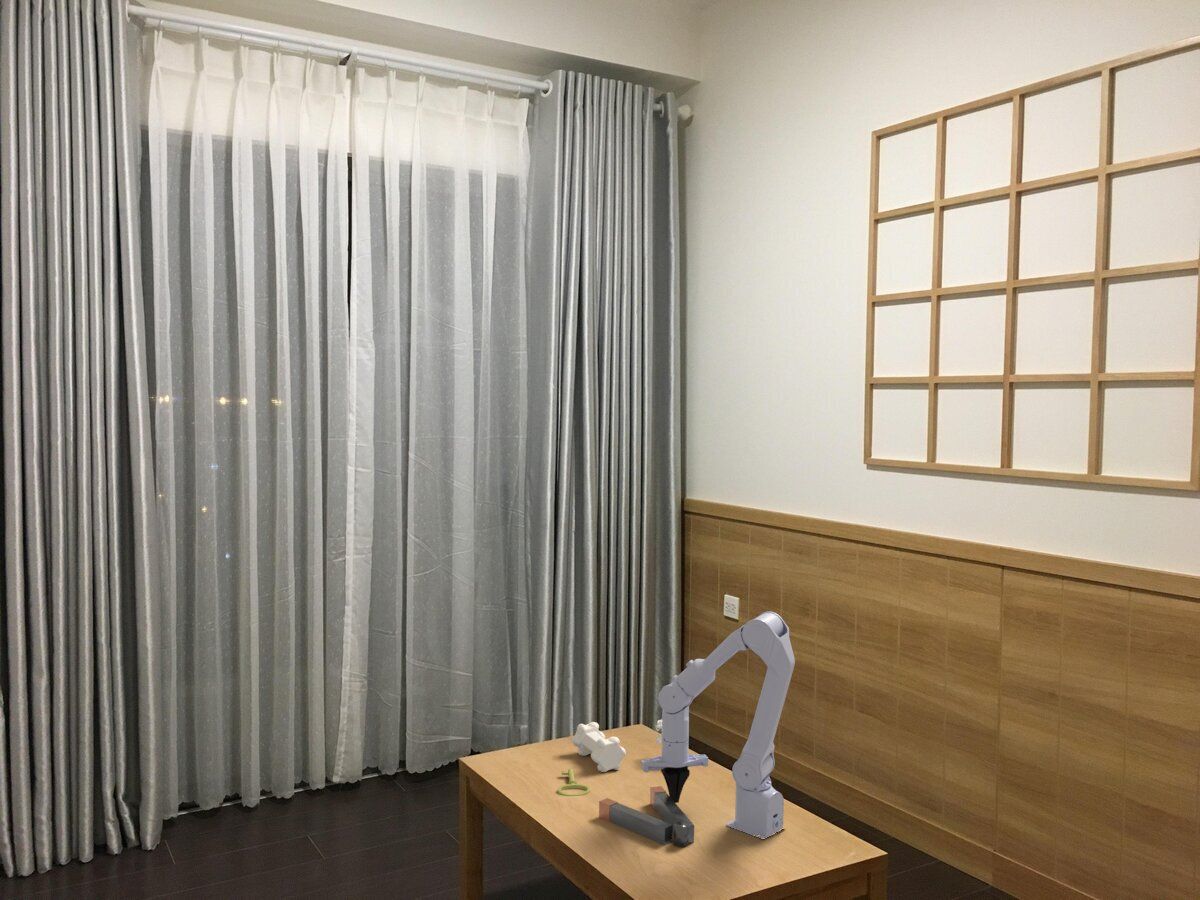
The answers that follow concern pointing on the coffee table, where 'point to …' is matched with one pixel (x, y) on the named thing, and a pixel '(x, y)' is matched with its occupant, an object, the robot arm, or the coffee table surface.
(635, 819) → the tongs fixed arm
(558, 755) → the coffee table surface
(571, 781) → the key
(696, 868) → the coffee table surface
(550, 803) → the coffee table surface
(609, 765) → the bone shaped toy
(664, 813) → the bar
